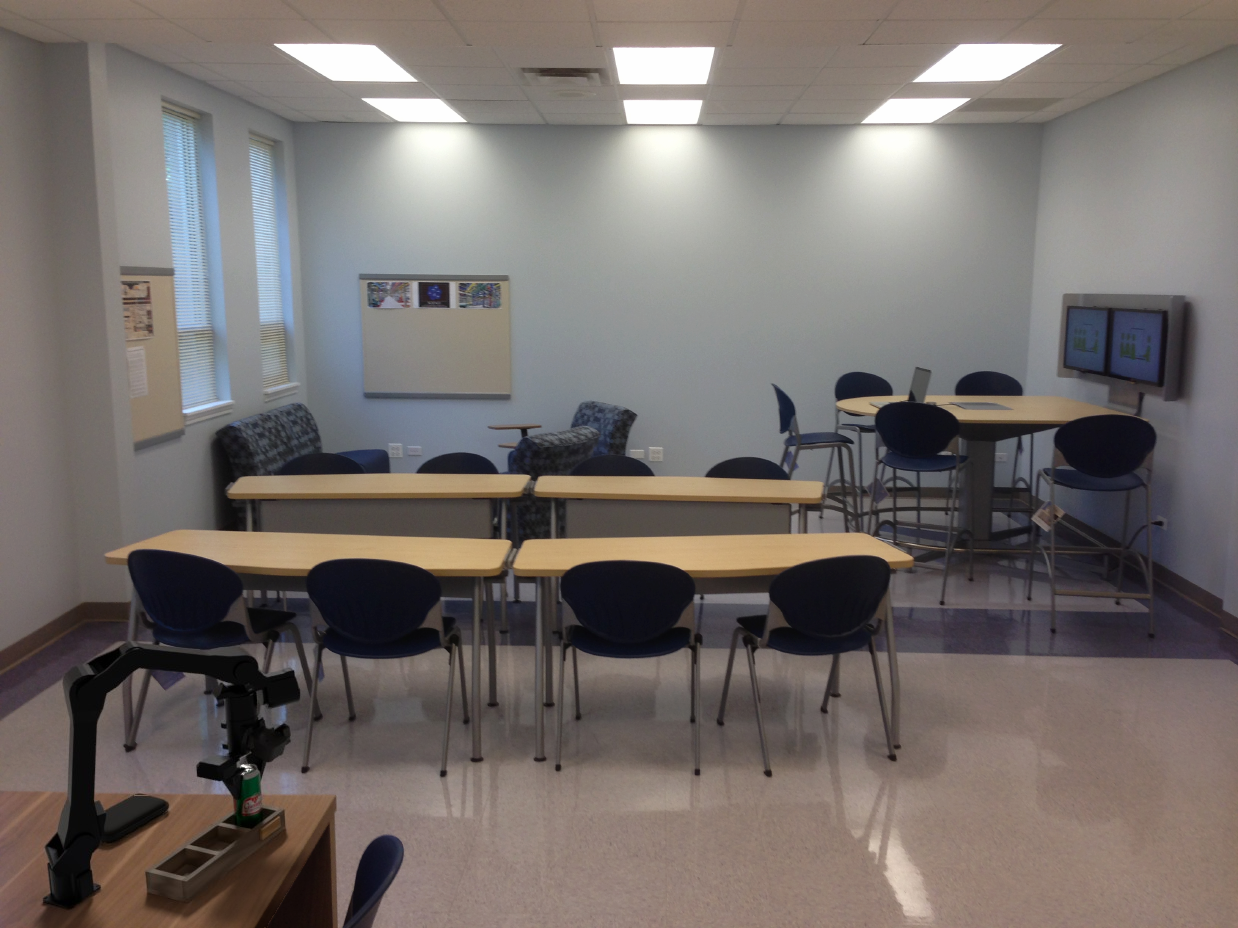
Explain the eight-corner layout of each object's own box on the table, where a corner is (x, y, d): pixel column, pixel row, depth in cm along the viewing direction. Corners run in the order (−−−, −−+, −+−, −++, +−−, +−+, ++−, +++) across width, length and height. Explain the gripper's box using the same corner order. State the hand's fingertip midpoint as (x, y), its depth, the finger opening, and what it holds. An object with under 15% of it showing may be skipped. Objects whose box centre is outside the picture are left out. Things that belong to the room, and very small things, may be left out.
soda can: (245, 837, 180) (241, 777, 178) (229, 829, 183) (225, 770, 181) (269, 825, 184) (265, 767, 182) (253, 817, 187) (249, 759, 185)
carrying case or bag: (136, 800, 198) (70, 837, 184) (135, 787, 197) (69, 822, 184) (174, 811, 193) (110, 849, 180) (173, 797, 193) (108, 834, 180)
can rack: (147, 891, 166) (145, 870, 166) (248, 819, 190) (246, 800, 189) (191, 903, 163) (189, 881, 163) (288, 828, 186) (286, 809, 186)
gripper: (241, 742, 168) (247, 825, 171) (309, 701, 186) (313, 777, 188) (191, 733, 172) (197, 813, 175) (262, 693, 190) (267, 767, 192)
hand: (247, 792), depth 182 cm, fingers closed on soda can, 5 cm apart
